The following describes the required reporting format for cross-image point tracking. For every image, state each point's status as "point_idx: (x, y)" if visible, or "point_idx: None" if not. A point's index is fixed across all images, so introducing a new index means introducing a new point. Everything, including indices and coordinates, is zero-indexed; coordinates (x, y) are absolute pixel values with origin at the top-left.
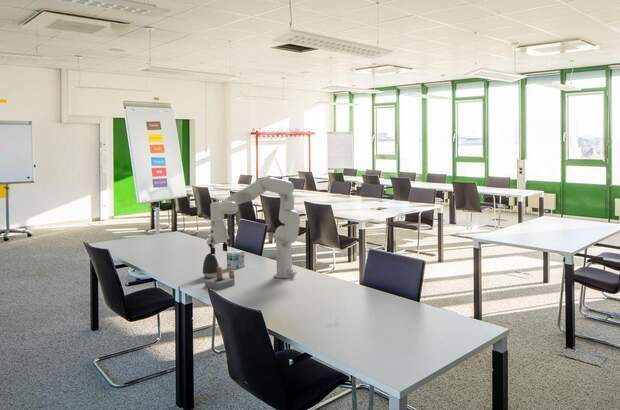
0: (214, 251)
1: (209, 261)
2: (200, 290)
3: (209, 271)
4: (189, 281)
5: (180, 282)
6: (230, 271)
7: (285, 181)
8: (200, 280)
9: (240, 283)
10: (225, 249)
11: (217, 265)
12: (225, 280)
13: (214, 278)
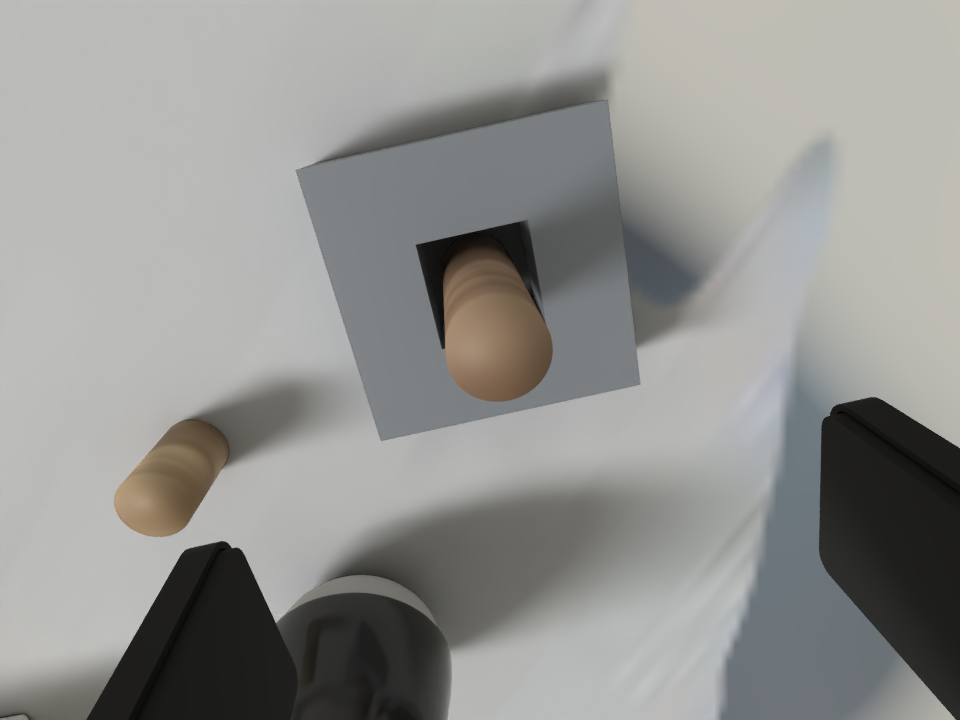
0: (956, 452)
1: None
2: (747, 255)
3: (413, 628)
4: (607, 608)
5: (683, 626)
6: (184, 486)
7: None
8: (511, 578)
9: (209, 172)
10: (233, 626)
11: None
12: (438, 200)
13: None
